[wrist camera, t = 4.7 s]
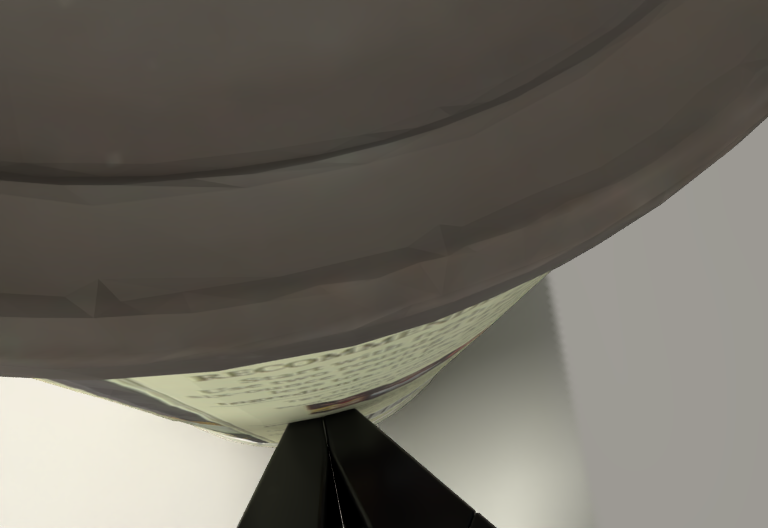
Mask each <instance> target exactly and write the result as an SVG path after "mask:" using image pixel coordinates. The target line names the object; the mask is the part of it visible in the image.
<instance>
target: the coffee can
mask: <svg viewBox="0 0 768 528" xmlns="http://www.w3.org/2000/svg"><path fill="white" fill-rule="evenodd" d="M767 117H768V0H0V376H2V377H22V378H33V379H37V380H40V381H43V382H47V383H50V384H53V385H57V386H60V387H63V388H67V389H70V390H73V391H76V392H80V393H83V394H87V395H91V396H94V397H98V398H102V399H105V400H109V401H112V402H116V403H119V404H122V405H125V406H129V407H132V408H135V409H138V410H142V411H145V412H148V413H151V414H154V415H157V416H160V417H163V418H166V419H170V420H173V421H180V422H184V423H187V424H190V425H193V426H195V427H196V428H199V429H201V430H203V431H206V432H208V433H211V434H213V435H216V436H218V437H221V438H223V439H226V440H230V441H234V442H238V443H243V444H248V445H253V446H262V447H277V445H278V443H279V441H280V439H281V437H282V435H283V433H284V431H285V429H286V427H287V425H288V423H293V422H298V421H304V420H309V419H315V418H320V417H322V419H323V417H324V416H327V415H331V414H335V413H339V412H342V411H346V410H350V409H354V408H356V409H357V410H358V411H359V412H360V413H362V414H363V415H364V416H365V417H366V418H367V419H369V420H370V421H371V422H372V423H373V424H374V425H375V424H377V423H379V422H380V421H382V420H384V419H386V418H387V417H389V416H391V415H392V414H394V413H395V412H396V411H398V410H399V409H400V408H402V407H403V406H404V405H406V404H407V403H408V402H409V401H410V400H411V399H413V398H414V397H415V396H416V395H417V394H419V393H420V392H421V391H422V390H423V389H424V388H425V387H426V386H427V385H428V383H429V382H430V381H431V380H432V379H433V377H434V376H435V375H436V374H437V373H438V372H439V371H440V370H441V369H442V368H443V367H444V366H445V365H447V364H448V363H449V362H450V361H451V360H452V359H453V358H455V357H456V356H457V355H458V354H459V353H460V352H461V351H463V350H464V349H465V348H466V347H467V346H468V345H469V344H471V343H472V342H473V341H474V340H475V339H476V338H477V337H479V336H480V335H481V334H482V333H483V332H484V331H485V330H486V329H488V328H489V327H490V326H491V325H492V324H493V323H494V322H495V321H496V320H498V319H499V318H500V317H501V316H502V315H503V314H504V313H505V312H506V311H507V310H508V309H509V308H511V307H512V306H513V305H514V304H515V303H516V302H517V301H518V300H519V299H520V298H521V297H522V296H523V295H525V294H526V293H527V292H528V291H529V290H530V289H531V288H532V287H533V286H535V285H536V284H537V283H538V282H539V281H540V280H541V279H543V278H544V277H545V276H546V275H547V274H548V273H549V272H550V271H552V270H553V269H555V268H557V267H559V266H561V265H563V264H565V263H566V262H568V261H570V260H572V259H573V258H575V257H577V256H579V255H581V254H582V253H584V252H586V251H588V250H589V249H591V248H593V247H594V246H596V245H598V244H599V243H601V242H603V241H604V240H606V239H607V238H609V237H611V236H612V235H614V234H615V233H617V232H618V231H620V230H621V229H623V228H625V227H626V226H628V225H629V224H631V223H632V222H634V221H636V220H637V219H639V218H640V217H642V216H644V215H645V214H647V213H648V212H650V211H651V210H653V209H654V208H656V207H658V206H659V205H661V204H662V203H663V202H665V201H666V200H667V199H668V198H670V197H671V196H672V195H674V194H675V193H676V192H677V191H679V190H680V189H681V188H683V187H684V186H685V185H686V184H688V183H689V182H690V181H692V180H693V179H694V178H695V177H697V176H698V175H699V174H701V173H702V172H703V171H704V170H706V169H707V168H708V167H710V166H711V165H712V164H713V163H715V162H716V161H717V160H718V159H720V158H721V157H722V156H724V155H725V154H726V153H727V152H729V151H730V150H731V149H732V148H733V147H735V146H736V145H737V144H738V143H739V142H741V141H742V140H743V139H744V138H745V137H746V136H747V135H748V134H749V133H751V132H752V131H753V130H754V129H755V128H756V127H757V126H758V125H759V124H760V123H762V121H764V120H765V119H766V118H767ZM323 424H324V422H323ZM324 429H325V428H324ZM325 434H326V433H325ZM326 439H327V438H326Z"/></svg>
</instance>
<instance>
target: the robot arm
mask: <svg viewBox="0 0 768 528" xmlns="http://www.w3.org/2000/svg"><path fill="white" fill-rule="evenodd" d="M323 422H324V424H323ZM324 428H325V429H324ZM325 433H326V434H325ZM326 438H327V439H326ZM329 454H330V455H329ZM330 459H331V460H330ZM331 464H332V465H331ZM332 469H333V470H332ZM333 475H334V476H333ZM334 480H335V481H334ZM335 485H336V486H335ZM336 490H337V492H336ZM337 495H338V497H337ZM338 500H339V502H338ZM339 505H340V507H339ZM340 511H341V513H340ZM341 516H342V518H341ZM342 521H343V523H342ZM343 526H344V528H496V527H495V526H494V525H493V524H492V523H490V522H489V521H488V520H487V519H486V518H485V517H483V516H482V515H481V514H480V513H476V511H475V510H474V509H473V508H472V507H471V506H469V505H468V504H467V503H466V502H465V501H464V500H462V499H461V498H460V497H459V496H458V495H456V494H455V493H454V492H453V491H452V490H451V489H449V488H448V487H447V486H446V485H445V484H444V483H442V482H441V481H440V480H439V479H438V478H437V477H435V476H434V475H433V474H432V473H431V472H430V471H428V470H427V469H426V468H425V467H424V466H422V465H421V464H420V463H419V462H418V461H417V460H415V459H414V458H413V457H412V456H411V455H410V454H408V453H407V452H406V451H405V450H404V449H403V448H401V447H400V446H399V445H398V444H397V443H396V442H394V441H393V440H392V439H391V438H390V437H389V436H387V435H386V434H385V433H384V432H383V431H381V430H380V429H379V428H378V427H377V426H376V425H374V424H373V423H372V422H371V421H370V420H369V419H367V418H366V417H365V416H364V415H363V414H362V413H360V412H359V411H358V410H357V409H356V408H354V409H350V410H346V411H342V412H339V413H335V414H331V415H327V416H324V417H323V419H322V417H320V418H315V419H309V420H304V421H298V422H293V423H288V425H287V427H286V429H285V431H284V433H283V435H282V437H281V439H280V441H279V443H278V445H277V447H276V449H275V451H274V453H273V455H272V457H271V459H270V461H269V463H268V465H267V467H266V469H265V471H264V473H263V475H262V477H261V479H260V481H259V483H258V486H257V488H256V490H255V492H254V494H253V496H252V498H251V500H250V502H249V504H248V506H247V508H246V510H245V512H244V514H243V516H242V518H241V520H240V522H239V524H238V526H237V528H343Z"/></svg>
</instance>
